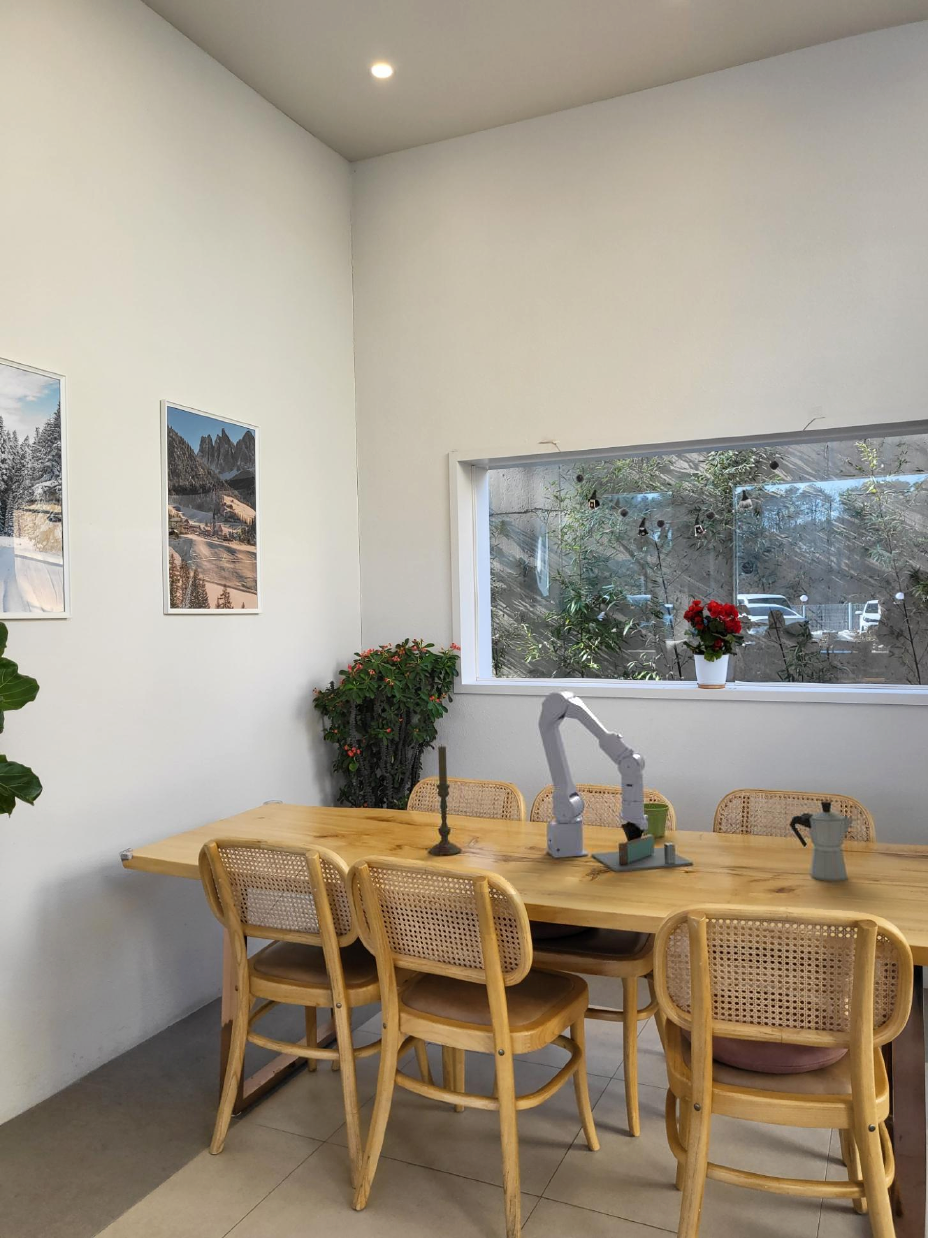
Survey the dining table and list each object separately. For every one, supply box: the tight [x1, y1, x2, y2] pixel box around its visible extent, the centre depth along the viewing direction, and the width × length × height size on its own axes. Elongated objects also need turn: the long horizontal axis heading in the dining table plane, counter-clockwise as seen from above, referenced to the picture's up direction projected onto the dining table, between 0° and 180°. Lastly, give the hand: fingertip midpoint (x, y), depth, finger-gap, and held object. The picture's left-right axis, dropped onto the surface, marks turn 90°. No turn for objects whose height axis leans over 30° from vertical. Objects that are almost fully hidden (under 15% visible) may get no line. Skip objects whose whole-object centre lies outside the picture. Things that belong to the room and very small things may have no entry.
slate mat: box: [591, 847, 694, 873], centre depth 244 cm, size 21×17×1 cm
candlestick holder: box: [428, 743, 462, 857], centre depth 259 cm, size 9×9×30 cm
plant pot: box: [642, 802, 670, 839], centre depth 272 cm, size 9×9×9 cm
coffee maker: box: [789, 800, 856, 882], centre depth 225 cm, size 15×9×18 cm, turn 77°
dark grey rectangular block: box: [663, 842, 676, 864], centre depth 239 cm, size 2×2×6 cm
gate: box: [625, 834, 655, 863], centre depth 243 cm, size 12×1×5 cm, turn 136°
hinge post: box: [618, 842, 627, 866], centre depth 238 cm, size 2×2×6 cm
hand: (634, 851), depth 246 cm, fingers closed
